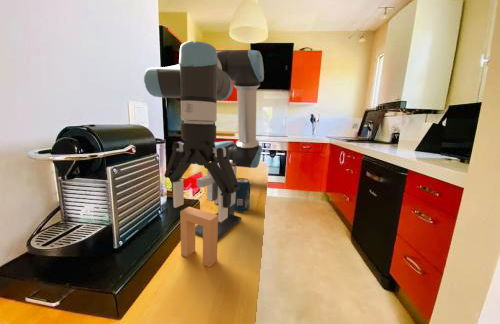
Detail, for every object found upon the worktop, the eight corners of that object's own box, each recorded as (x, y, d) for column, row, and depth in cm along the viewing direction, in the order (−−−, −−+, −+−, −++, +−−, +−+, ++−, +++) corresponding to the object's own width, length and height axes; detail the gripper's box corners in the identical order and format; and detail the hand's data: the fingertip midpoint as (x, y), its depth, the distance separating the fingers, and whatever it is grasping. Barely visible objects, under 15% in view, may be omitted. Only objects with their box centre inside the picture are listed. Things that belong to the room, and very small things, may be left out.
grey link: (212, 197, 69) (213, 163, 67) (235, 203, 65) (236, 167, 63) (207, 200, 66) (207, 164, 64) (230, 206, 62) (231, 168, 60)
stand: (219, 214, 74) (221, 161, 71) (241, 220, 71) (243, 164, 67) (187, 235, 60) (186, 170, 56) (212, 244, 56) (213, 175, 52)
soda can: (233, 205, 83) (234, 177, 81) (250, 206, 83) (251, 178, 80) (230, 212, 76) (231, 182, 74) (248, 213, 76) (249, 183, 73)
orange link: (189, 248, 54) (189, 206, 52) (217, 260, 50) (217, 215, 48) (181, 254, 51) (180, 210, 49) (209, 267, 47) (210, 220, 45)
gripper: (145, 119, 46) (150, 205, 51) (240, 126, 35) (236, 234, 40) (171, 120, 53) (174, 196, 57) (257, 125, 42) (252, 219, 46)
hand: (199, 212), depth 49 cm, fingers open, 13 cm apart
